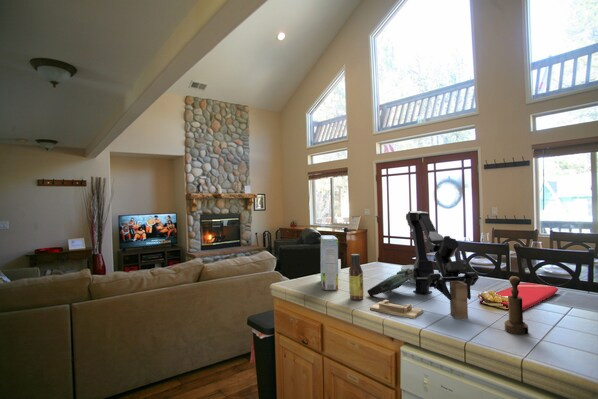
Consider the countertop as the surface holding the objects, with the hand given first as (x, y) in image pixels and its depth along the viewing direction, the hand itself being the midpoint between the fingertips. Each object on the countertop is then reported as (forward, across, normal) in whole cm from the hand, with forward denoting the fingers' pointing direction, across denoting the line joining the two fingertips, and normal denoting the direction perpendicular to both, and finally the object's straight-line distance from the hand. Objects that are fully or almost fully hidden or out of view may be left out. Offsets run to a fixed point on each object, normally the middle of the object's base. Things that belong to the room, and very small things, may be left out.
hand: (460, 299), depth 123 cm
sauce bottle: (-15, -33, +25) cm, 44 cm away
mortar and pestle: (+15, +11, -5) cm, 19 cm away
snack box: (-33, -42, +43) cm, 69 cm away
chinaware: (-34, +5, +44) cm, 56 cm away
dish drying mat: (-9, +38, +19) cm, 43 cm away
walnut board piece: (+4, 0, +6) cm, 7 cm away
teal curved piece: (-23, -21, +30) cm, 44 cm away
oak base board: (-2, -22, +11) cm, 24 cm away
